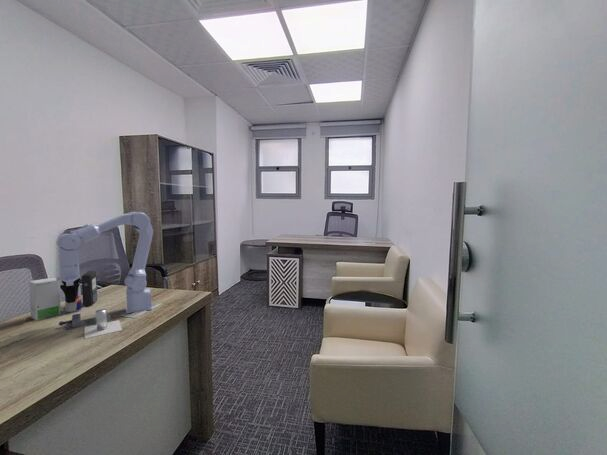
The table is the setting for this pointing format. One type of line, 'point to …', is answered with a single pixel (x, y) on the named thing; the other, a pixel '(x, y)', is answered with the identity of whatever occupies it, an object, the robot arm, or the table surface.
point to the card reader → (89, 288)
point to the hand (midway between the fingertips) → (71, 299)
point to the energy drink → (74, 303)
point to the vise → (79, 321)
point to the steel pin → (101, 319)
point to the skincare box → (44, 298)
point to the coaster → (93, 332)
